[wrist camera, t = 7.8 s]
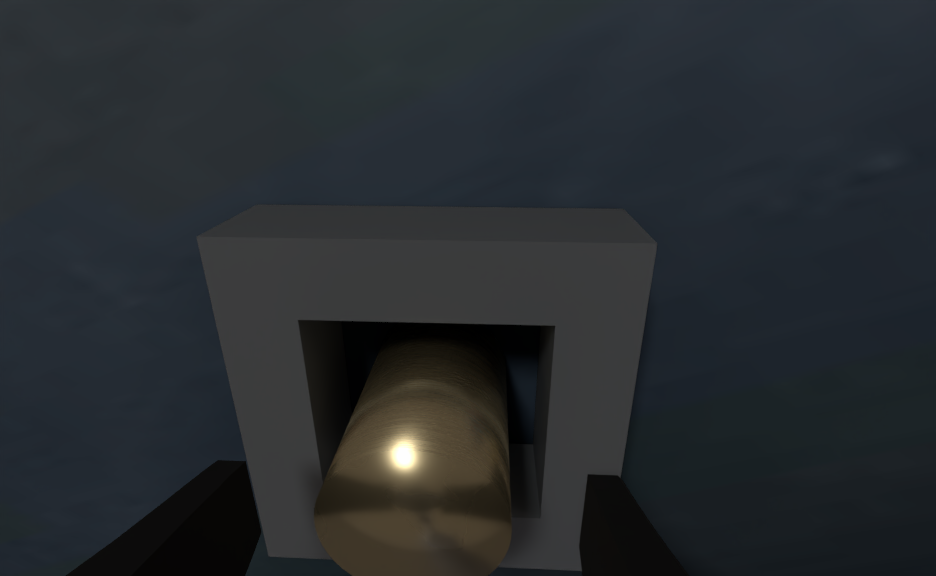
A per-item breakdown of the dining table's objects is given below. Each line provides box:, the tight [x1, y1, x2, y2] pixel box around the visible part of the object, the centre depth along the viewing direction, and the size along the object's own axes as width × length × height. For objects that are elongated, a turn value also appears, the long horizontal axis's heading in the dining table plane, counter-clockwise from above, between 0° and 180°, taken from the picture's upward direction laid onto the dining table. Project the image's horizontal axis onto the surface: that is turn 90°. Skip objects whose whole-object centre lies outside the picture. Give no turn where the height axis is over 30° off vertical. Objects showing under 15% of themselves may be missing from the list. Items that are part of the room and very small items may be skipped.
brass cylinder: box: [314, 322, 512, 576], centre depth 13 cm, size 4×4×6 cm
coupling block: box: [197, 205, 657, 571], centre depth 14 cm, size 10×10×3 cm
